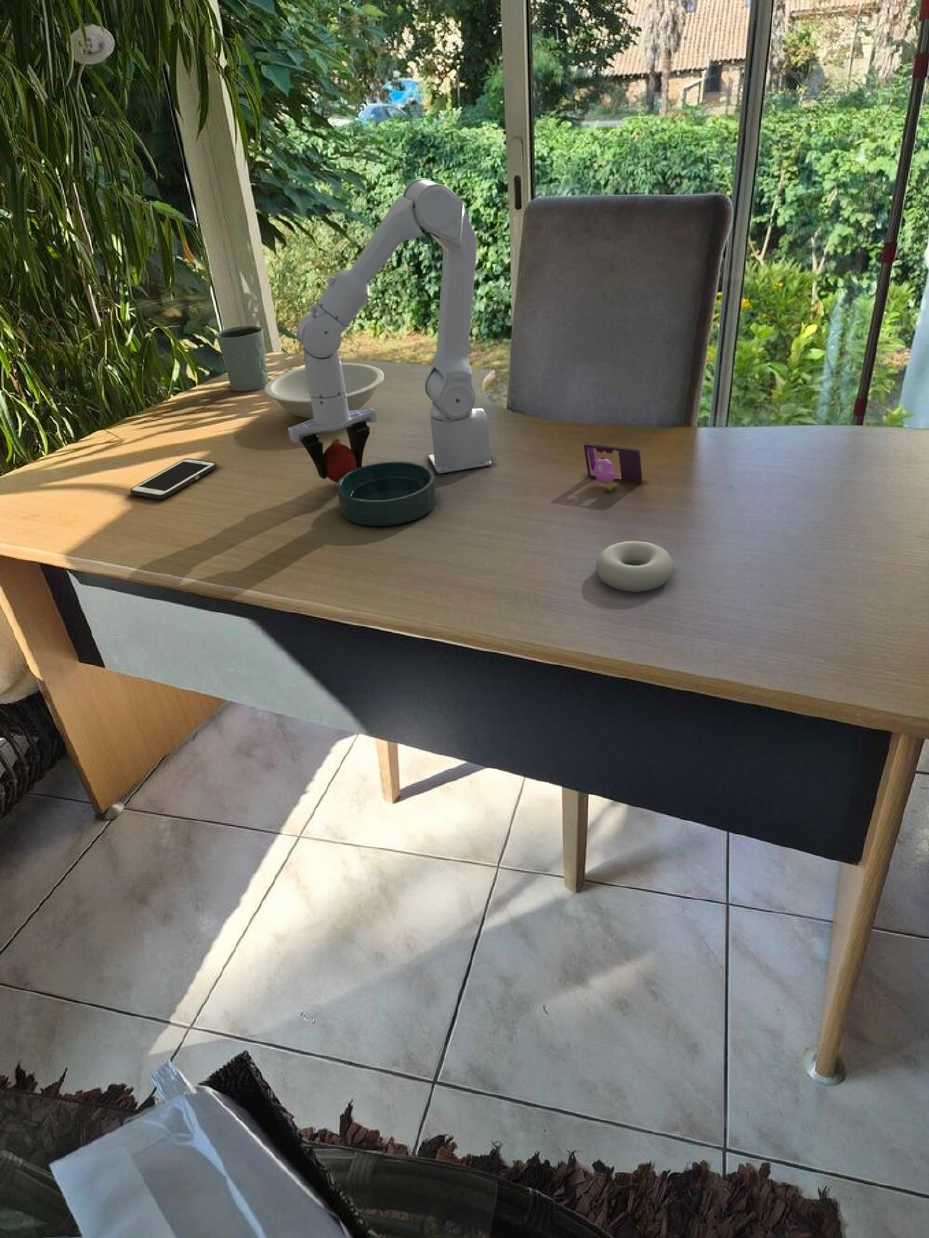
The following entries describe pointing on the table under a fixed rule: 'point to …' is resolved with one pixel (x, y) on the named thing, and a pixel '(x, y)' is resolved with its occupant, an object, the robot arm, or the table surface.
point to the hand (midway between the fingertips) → (340, 471)
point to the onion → (338, 460)
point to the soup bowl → (296, 395)
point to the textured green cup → (244, 357)
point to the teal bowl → (387, 493)
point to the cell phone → (173, 478)
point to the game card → (604, 467)
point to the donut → (634, 566)
